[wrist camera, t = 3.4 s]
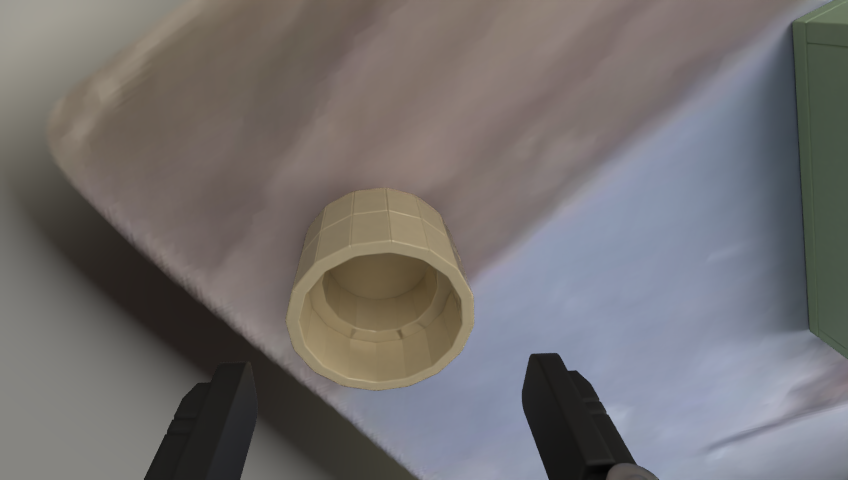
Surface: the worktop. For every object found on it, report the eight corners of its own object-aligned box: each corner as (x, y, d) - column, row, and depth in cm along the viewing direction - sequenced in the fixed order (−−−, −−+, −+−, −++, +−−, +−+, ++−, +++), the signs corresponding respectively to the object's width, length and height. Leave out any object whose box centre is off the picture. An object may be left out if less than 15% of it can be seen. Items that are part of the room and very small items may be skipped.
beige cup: (274, 226, 18) (245, 298, 14) (409, 155, 17) (423, 207, 13) (354, 328, 21) (351, 413, 17) (472, 271, 20) (501, 345, 16)
